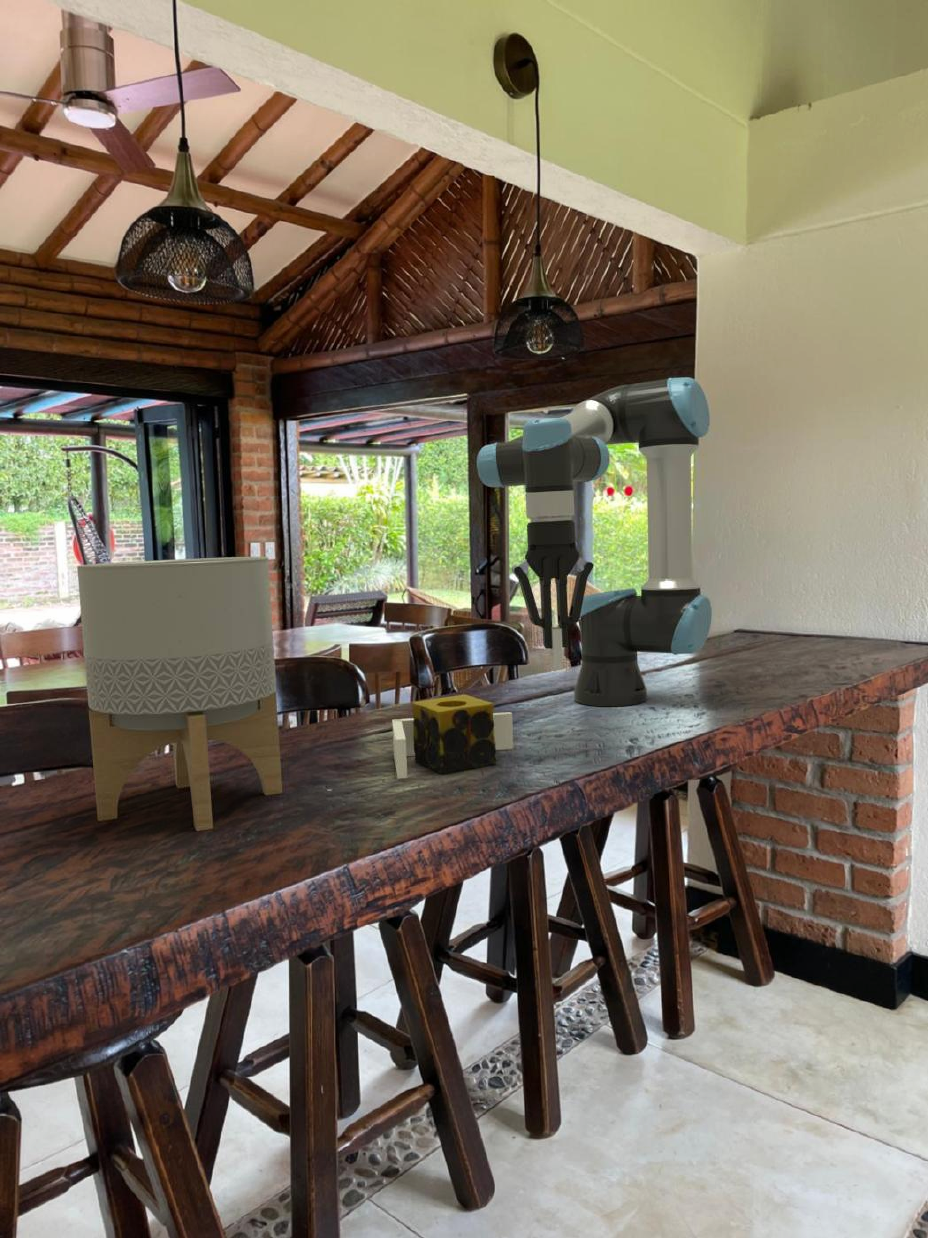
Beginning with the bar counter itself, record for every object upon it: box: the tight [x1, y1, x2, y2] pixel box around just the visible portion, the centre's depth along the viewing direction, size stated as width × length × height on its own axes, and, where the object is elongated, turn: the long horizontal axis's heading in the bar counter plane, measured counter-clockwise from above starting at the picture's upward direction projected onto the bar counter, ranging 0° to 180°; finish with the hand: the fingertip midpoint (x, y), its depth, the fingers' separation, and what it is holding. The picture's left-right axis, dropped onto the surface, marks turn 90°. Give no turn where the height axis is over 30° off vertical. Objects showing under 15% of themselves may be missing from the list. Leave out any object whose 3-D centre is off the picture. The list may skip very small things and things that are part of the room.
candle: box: [411, 693, 498, 775], centre depth 143 cm, size 10×10×10 cm
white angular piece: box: [391, 711, 514, 780], centre depth 144 cm, size 20×15×6 cm
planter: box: [76, 556, 283, 832], centre depth 125 cm, size 25×25×34 cm
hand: (556, 668), depth 143 cm, fingers closed
